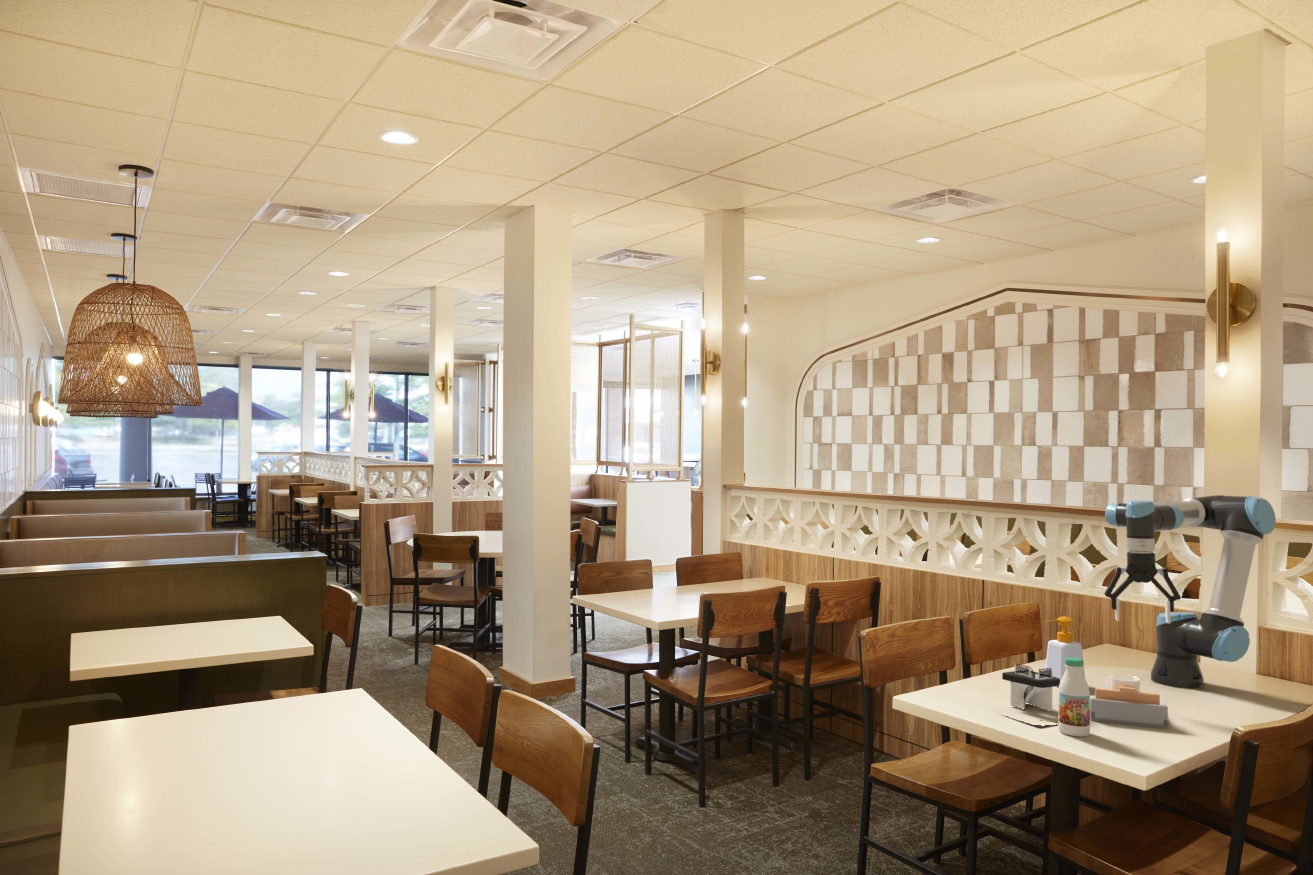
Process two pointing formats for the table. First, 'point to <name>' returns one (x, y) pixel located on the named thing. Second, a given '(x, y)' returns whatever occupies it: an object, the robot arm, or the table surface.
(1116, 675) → the white cup
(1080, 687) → the milk bottle
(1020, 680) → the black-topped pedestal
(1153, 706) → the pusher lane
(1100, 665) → the table surface
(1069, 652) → the soap bottle
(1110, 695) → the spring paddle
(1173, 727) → the table surface
